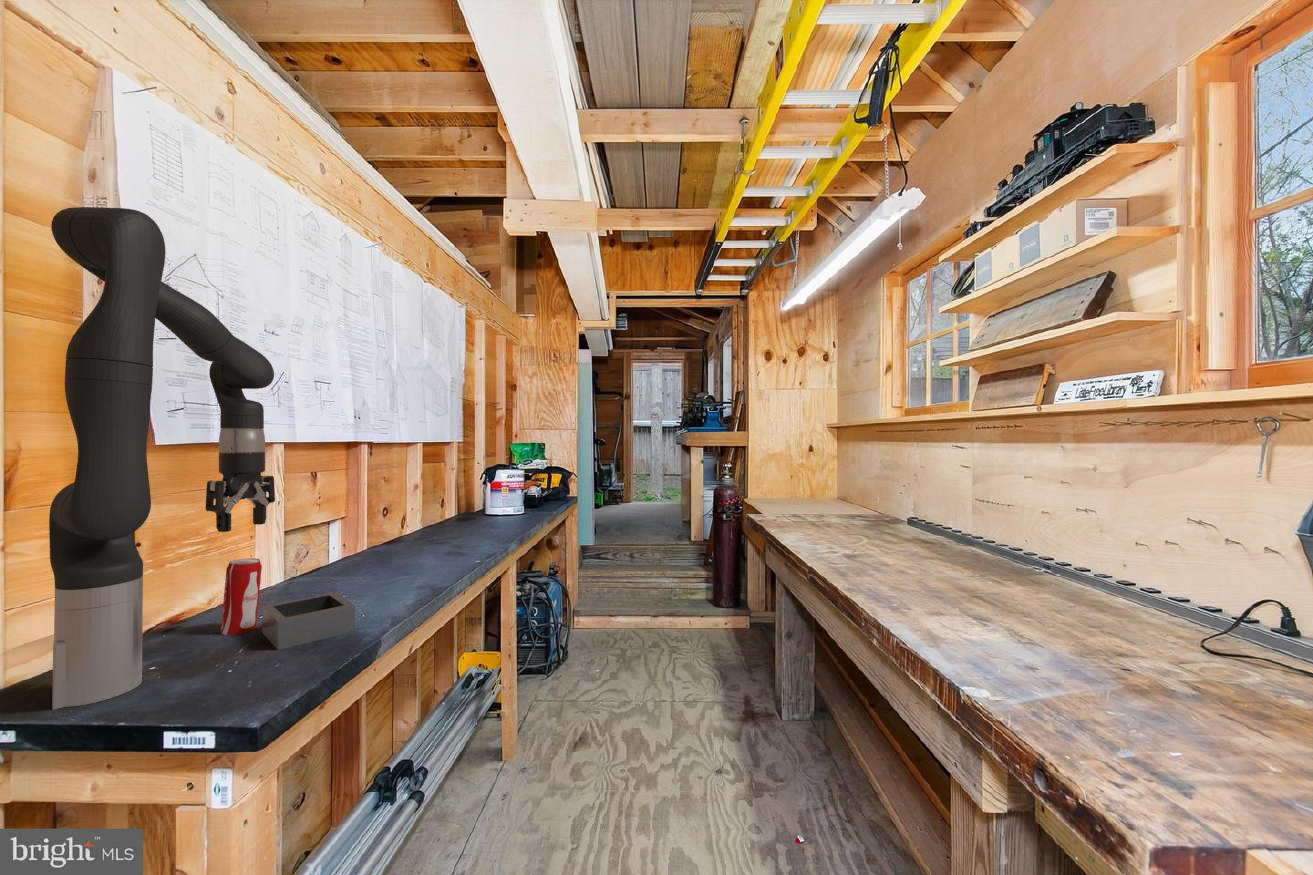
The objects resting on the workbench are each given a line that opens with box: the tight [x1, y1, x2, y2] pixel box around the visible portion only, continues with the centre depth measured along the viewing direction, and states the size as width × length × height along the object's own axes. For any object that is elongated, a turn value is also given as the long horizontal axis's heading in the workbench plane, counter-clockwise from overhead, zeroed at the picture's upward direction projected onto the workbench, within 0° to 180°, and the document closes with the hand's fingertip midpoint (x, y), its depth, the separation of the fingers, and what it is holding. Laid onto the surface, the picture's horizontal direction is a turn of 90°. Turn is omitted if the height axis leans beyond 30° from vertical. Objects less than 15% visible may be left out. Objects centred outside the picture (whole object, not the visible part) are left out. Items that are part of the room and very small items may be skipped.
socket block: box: [261, 591, 356, 651], centre depth 104 cm, size 13×13×6 cm
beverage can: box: [220, 557, 263, 636], centre depth 105 cm, size 6×6×15 cm
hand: (242, 527), depth 105 cm, fingers open, 8 cm apart
